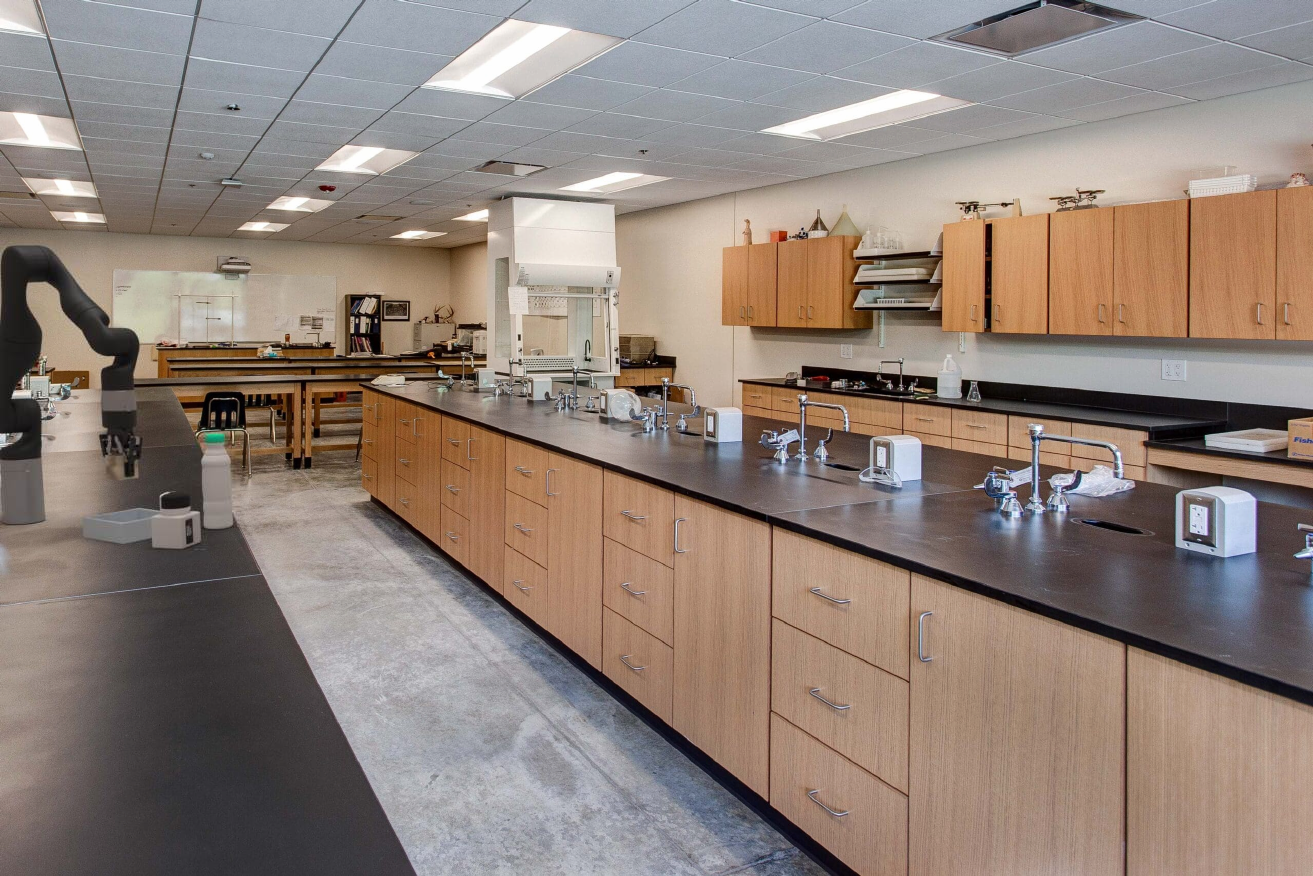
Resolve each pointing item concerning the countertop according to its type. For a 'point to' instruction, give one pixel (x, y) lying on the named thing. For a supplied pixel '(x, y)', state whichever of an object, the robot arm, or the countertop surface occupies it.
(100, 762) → the countertop surface
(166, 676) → the countertop surface
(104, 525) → the gray bin
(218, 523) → the water bottle
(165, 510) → the container
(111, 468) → the maple block
